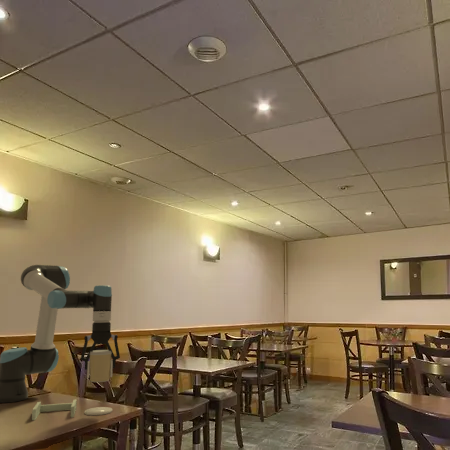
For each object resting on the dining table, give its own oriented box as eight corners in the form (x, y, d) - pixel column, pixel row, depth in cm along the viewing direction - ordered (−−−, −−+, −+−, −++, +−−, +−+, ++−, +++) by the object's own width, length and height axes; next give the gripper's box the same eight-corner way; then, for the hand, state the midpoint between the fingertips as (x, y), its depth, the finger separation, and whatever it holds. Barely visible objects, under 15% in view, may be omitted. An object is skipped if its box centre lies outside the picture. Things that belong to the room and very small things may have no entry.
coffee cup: (106, 378, 188) (107, 349, 190) (114, 380, 181) (115, 350, 183) (84, 380, 183) (86, 350, 185) (92, 383, 175) (94, 352, 178)
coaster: (85, 410, 183) (85, 408, 184) (112, 408, 186) (112, 406, 186) (83, 416, 173) (83, 414, 173) (112, 414, 176) (112, 412, 176)
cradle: (37, 411, 182) (38, 401, 183) (76, 408, 186) (76, 398, 187) (31, 420, 168) (32, 409, 169) (73, 417, 172) (74, 406, 173)
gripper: (74, 322, 180) (72, 380, 176) (127, 321, 185) (126, 377, 181) (76, 322, 187) (73, 377, 183) (126, 320, 193) (125, 374, 188)
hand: (99, 377), depth 182 cm, fingers closed on coffee cup, 9 cm apart
